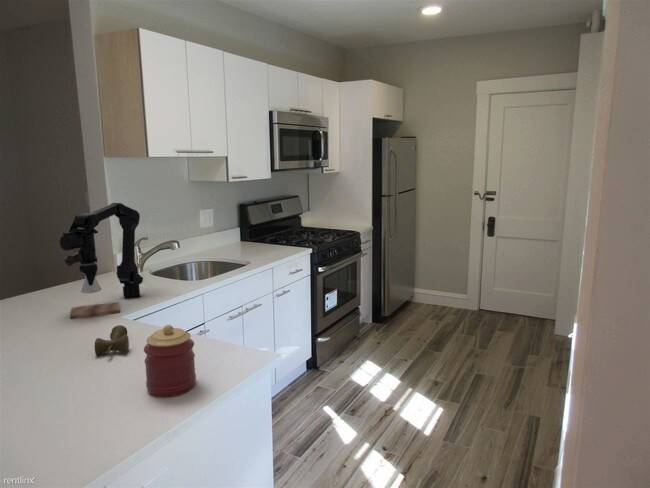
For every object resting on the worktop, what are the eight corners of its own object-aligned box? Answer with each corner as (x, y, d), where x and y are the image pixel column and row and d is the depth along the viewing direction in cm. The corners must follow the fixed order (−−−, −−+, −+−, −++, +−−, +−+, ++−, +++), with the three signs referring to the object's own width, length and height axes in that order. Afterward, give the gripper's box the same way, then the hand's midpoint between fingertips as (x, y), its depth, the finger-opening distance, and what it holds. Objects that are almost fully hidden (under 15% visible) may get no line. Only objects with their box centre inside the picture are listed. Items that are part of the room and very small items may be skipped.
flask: (93, 294, 185) (91, 269, 183) (77, 293, 186) (74, 269, 185) (105, 289, 192) (102, 265, 190) (89, 288, 193) (86, 265, 192)
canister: (159, 374, 134) (155, 316, 131) (203, 376, 133) (200, 317, 130) (137, 397, 122) (132, 333, 119) (185, 399, 120) (181, 334, 117)
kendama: (135, 338, 164) (125, 359, 145) (106, 341, 162) (91, 363, 143) (133, 321, 163) (123, 341, 144) (104, 324, 161) (89, 345, 142)
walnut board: (119, 304, 200) (118, 301, 200) (120, 312, 190) (120, 309, 190) (71, 310, 193) (71, 307, 192) (70, 319, 182) (70, 316, 182)
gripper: (65, 243, 191) (69, 280, 194) (62, 251, 174) (66, 291, 177) (95, 241, 196) (99, 277, 198) (95, 249, 179) (99, 288, 182)
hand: (90, 283), depth 189 cm, fingers closed on flask, 5 cm apart
